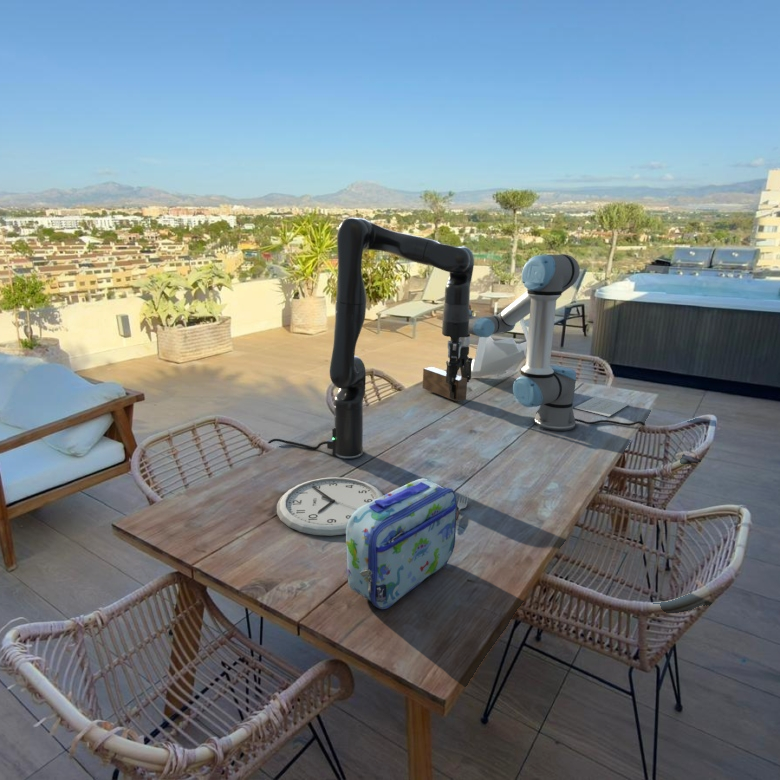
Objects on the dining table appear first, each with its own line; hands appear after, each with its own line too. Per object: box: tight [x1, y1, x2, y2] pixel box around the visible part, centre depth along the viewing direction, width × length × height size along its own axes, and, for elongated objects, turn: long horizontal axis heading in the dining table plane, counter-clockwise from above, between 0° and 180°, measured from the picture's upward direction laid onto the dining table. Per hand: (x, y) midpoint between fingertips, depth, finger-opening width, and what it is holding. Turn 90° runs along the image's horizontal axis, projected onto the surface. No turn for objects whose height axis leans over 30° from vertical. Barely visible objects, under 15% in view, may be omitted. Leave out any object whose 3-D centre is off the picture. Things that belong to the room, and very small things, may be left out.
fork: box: [456, 494, 470, 521], centre depth 139 cm, size 3×16×2 cm, turn 160°
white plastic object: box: [471, 318, 529, 378], centre depth 259 cm, size 37×45×31 cm
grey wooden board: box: [573, 396, 629, 418], centre depth 226 cm, size 21×1×15 cm
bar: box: [422, 366, 468, 402], centre depth 235 cm, size 23×6×10 cm, turn 37°
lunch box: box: [345, 477, 457, 610], centre depth 110 cm, size 26×11×21 cm, turn 134°
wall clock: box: [276, 476, 385, 537], centre depth 142 cm, size 30×2×30 cm
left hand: (452, 373), depth 154 cm, fingers open, 8 cm apart
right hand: (457, 397), depth 229 cm, fingers closed on bar, 5 cm apart
